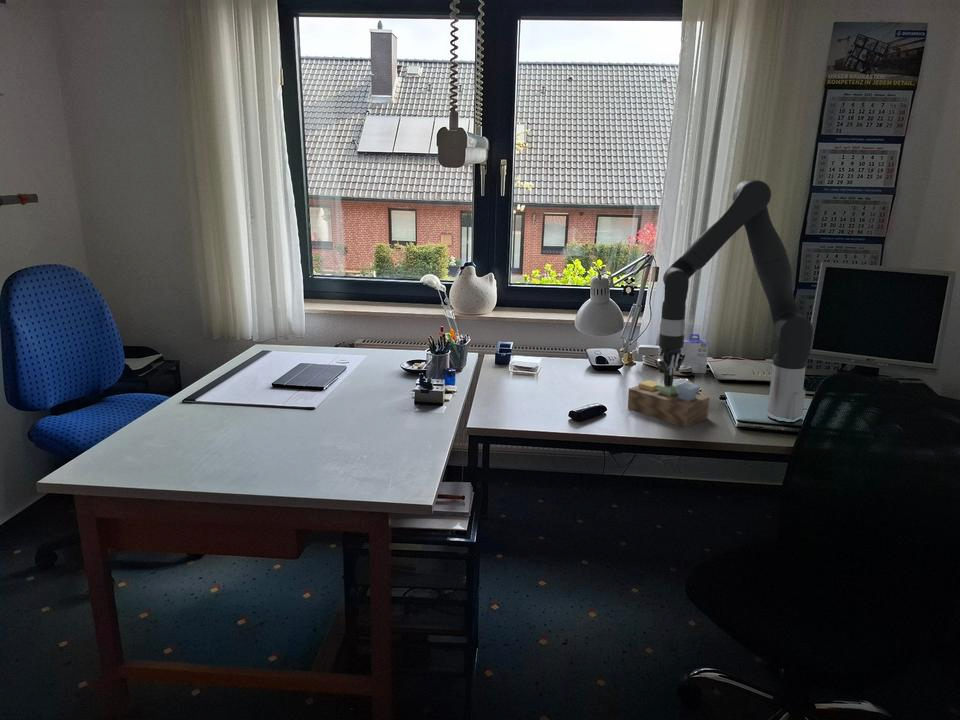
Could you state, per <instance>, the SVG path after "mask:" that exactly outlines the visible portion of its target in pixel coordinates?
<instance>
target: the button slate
mask: <svg viewBox="0 0 960 720" xmlns="http://www.w3.org/2000/svg"><path fill="white" fill-rule="evenodd" d="M675 391H679V392H678V399H681V400H685V401H688V402H689V401H692V400H695V399H696V394H697V393H698V392H701V386H700V385H697V384H693V383H689V382H683V383H680V384H677V386H676V388H675Z"/></svg>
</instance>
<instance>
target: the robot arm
mask: <svg viewBox="0 0 960 720" xmlns="http://www.w3.org/2000/svg"><path fill="white" fill-rule="evenodd" d="M771 197H772V191H771V188H770V186H769V185H768V184H767V183H766V182H765V181H763V180H758V179H745V180H742V181H740V182H739V183H738V184H737V186H736V187H734V191H733V193H732V199H733V202H732V203H731V205H730V206H729V207H728V209H727V210H726V211H725V213H724V214H722V216H721V217H720V218H718V219H717V220H716V221H715V222H714V223H713V224H712V225H711V226H709V227H708V228H706V230H705V231H704V232H703V233H702V234H700V235H699V236H698V237H697V238H696V239H695V241H694V242H693V243H692V244H691V245H690V246H689V247H688V248H687V249H686V251H685V252H684V253H683V254H682V256H680V257H679V258H677V260H675V261H674V263H672V264H671V265H670V266H669V267H668V268H667V269H666V271H665V272H664V274H663V278H662V281H663V284H664V293H663V295H664V297H663V299H664V300H663V302H662V304H661V305H662V306H661V316H660V317H661V318H660V324H659V334H658V335H659V336H658V347H660V349H661V350H660V353H659V358H658V359H657V358H656V359H654V364H655V365H656V367H657V369H658V372H659V373H661V374H664V376H663V383H664V385H666V386H671V385H673V384H674V375H675V374H676V372H678V371H680V370H679V368H680V366H681V364H682V362H683V360H684V358H685V355H684V354H682V353H681V348H683V347H684V340H685V331H686V320H685V319H686V309H687V308H686V301H687V298H688V291H689V285H690V282H689V281H690V278H691V277H692V276H693V275H694V274H695V273H696V272H697V271H700V270H701V269H702V268H703V267H705V266H706V264H708V263H709V261H710V260H711V259H712V258H714V256H715V255H716V254H717V253H718V252H719V250H720V249H721V248H722V247H723V246H724V245H725V244H726V243H727V241H729V240H730V238H732V237H733V235H734V234H735V233H737V232H738V231H739V229H741V228H742V227H743V226H744V229H745V231H746V236H747V240H748V245H749V249H750V253H751V257H752V261H753V263H754V268H755V271H756V273H757V276H758V279H759V281H760V284H761V287H762V290H763V292H764V294H765V297H766V299H767V302H768V307H769V310H770V315H771V321H772V327H773V331H774V333H775V335H776V336H777V337H778V338H779V340H778V347H777V351H776V353H775V354H774V355H773V359H772V368H771V378H770V384H769V385H770V386H769V396H768V403H767V404H768V405H767V406H768V407H767V413H768V412H769V413H770V414H772V415H774V416H776V417H780V418H786V419H791V420H794V419H796V418H798V417H800V416H802V417H803V415H804V407H805V399H806V398H805V397H806V390H805V389H804V382H805V375H806V366H807V362H808V360H809V358H810V354H811V349H812V343H813V338H814V337H813V336H814V335H813V333H814V327H813V324H812V322H811V321H810V320H809V319H808V318H807V317H805V316H803V315H802V313H801V311H800V310H799V309H800V308H799V307H798V305H797V301H796V299H795V296H794V292H793V273H792V272H793V271H792V265H791V263H790V260H789V256H788V252H787V250H786V247H785V245H784V243H783V241H782V239H781V237H780V235H779V234H778V232H777V230H776V228H775V227H774V225H773V223H772V222H773V221H772V219H771V216H770V213H769V210H768V204H769V203H770V201H771Z"/></svg>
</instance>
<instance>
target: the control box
mask: <svg viewBox="0 0 960 720" xmlns="http://www.w3.org/2000/svg"><path fill="white" fill-rule="evenodd" d="M678 392H679V391H677V394H674V395H671V396H668V395H664V394H661V393H660V390H654V391H649V390H646V389H642V388H639V385H636V386H633V387H630V388H628V394H627V398H628V400H627V409H628V410H629V411H630V410H631V411H633V412H635V413H639V414H642V415H645V416H648V417H652V418H654V419H658V420H661V421H663V422H667V423H670V424H672V425H675V426H679V427H682V428H687V427H691V426H692V425H694V424H697V423H700V422H703V421H705V420H707V419H708V418H709V408H710V406H709V405H710V397H709V396H708V395H707V396H706V395H702V394H699V393H696V399H695V400H692V401H689V402H688V401H685V400H681V399H678Z"/></svg>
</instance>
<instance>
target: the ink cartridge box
mask: <svg viewBox="0 0 960 720" xmlns="http://www.w3.org/2000/svg"><path fill="white" fill-rule="evenodd" d="M708 348H709V342H708V340H707V339H701V337H700V334H697V333H689V339H684V347H683V348H681V353H682V354H684V355H685V358H684V360H683V362H682V364H681V365H688V366H691V368H692V371H693V372H692V374H706V373H707V363H708V362H707V361H708V352H709V350H708Z"/></svg>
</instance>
